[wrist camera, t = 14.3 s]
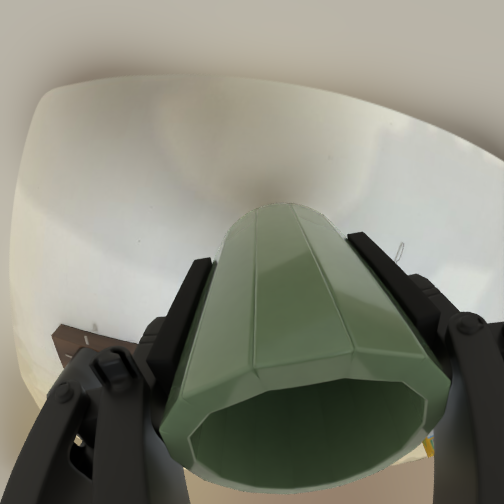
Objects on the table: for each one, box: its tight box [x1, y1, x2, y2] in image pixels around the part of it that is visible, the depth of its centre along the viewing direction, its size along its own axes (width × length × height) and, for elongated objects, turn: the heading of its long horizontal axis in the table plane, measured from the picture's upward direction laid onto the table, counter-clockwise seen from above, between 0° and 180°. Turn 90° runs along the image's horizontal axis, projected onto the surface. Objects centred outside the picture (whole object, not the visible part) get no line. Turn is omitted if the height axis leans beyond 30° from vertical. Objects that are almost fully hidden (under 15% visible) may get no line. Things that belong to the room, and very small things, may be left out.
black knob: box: [47, 347, 102, 398], centre depth 27 cm, size 6×6×9 cm
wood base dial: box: [51, 324, 138, 368], centre depth 35 cm, size 20×14×3 cm
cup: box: [159, 203, 451, 494], centre depth 9 cm, size 6×6×9 cm
